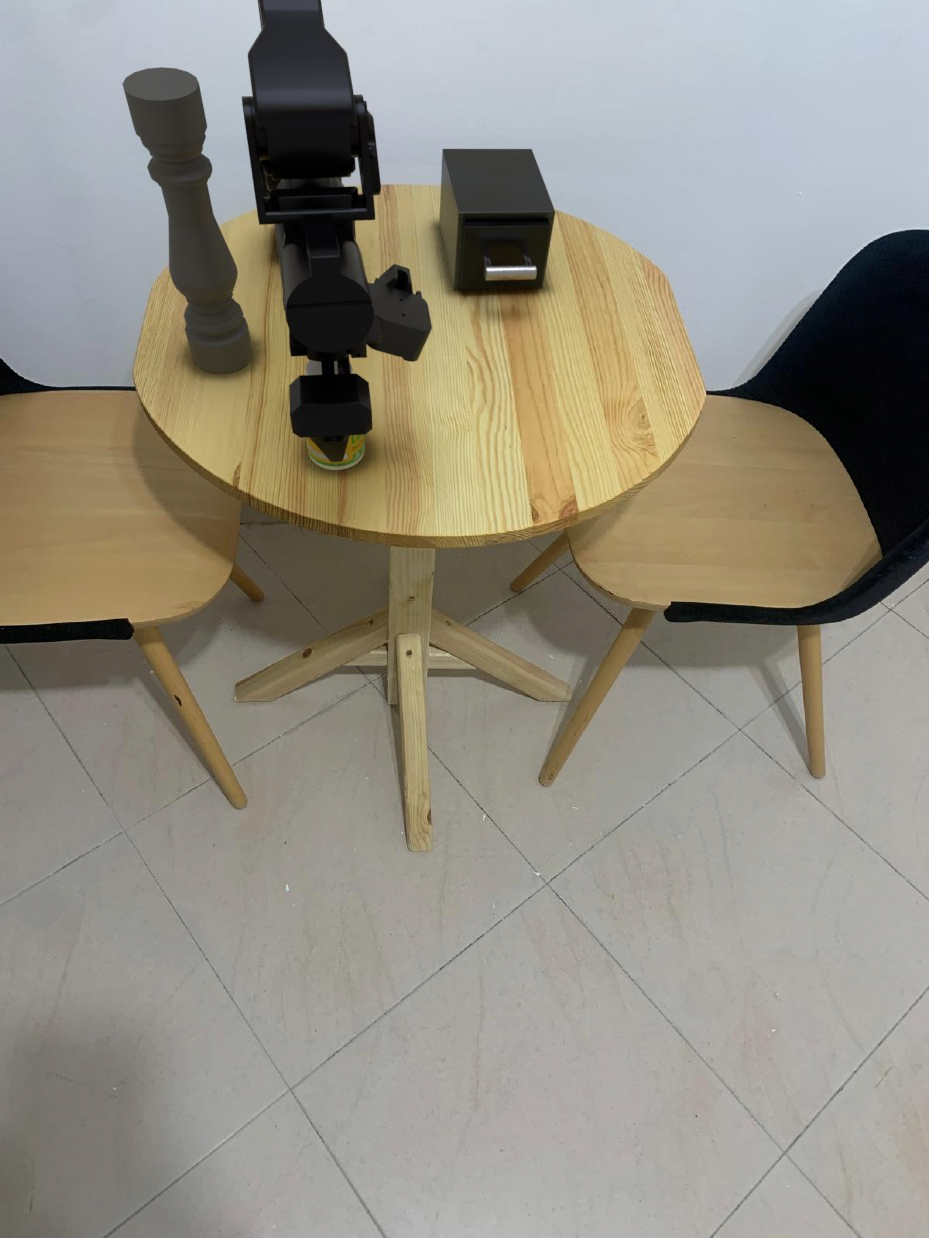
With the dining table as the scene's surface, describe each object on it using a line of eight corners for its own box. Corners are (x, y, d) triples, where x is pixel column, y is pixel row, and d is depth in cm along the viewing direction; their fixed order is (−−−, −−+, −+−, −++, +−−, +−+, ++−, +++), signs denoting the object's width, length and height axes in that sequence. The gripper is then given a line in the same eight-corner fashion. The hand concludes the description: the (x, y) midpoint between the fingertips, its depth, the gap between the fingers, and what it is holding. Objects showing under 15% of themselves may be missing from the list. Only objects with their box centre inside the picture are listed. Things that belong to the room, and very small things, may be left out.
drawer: (547, 309, 87) (559, 247, 81) (465, 311, 86) (470, 249, 80) (521, 227, 96) (529, 166, 90) (446, 228, 95) (449, 166, 89)
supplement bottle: (362, 474, 72) (357, 391, 64) (304, 470, 72) (292, 387, 64) (367, 434, 75) (363, 350, 67) (311, 430, 75) (301, 345, 67)
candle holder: (192, 376, 78) (116, 103, 57) (191, 337, 81) (120, 66, 61) (254, 371, 79) (202, 101, 58) (251, 334, 82) (201, 65, 62)
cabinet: (542, 288, 91) (555, 211, 83) (453, 290, 89) (458, 212, 82) (521, 224, 98) (531, 148, 91) (439, 225, 97) (442, 148, 89)
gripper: (440, 342, 54) (433, 495, 67) (413, 199, 64) (411, 356, 77) (278, 347, 53) (302, 502, 66) (276, 200, 63) (297, 360, 76)
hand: (334, 424), depth 71 cm, fingers open, 9 cm apart
